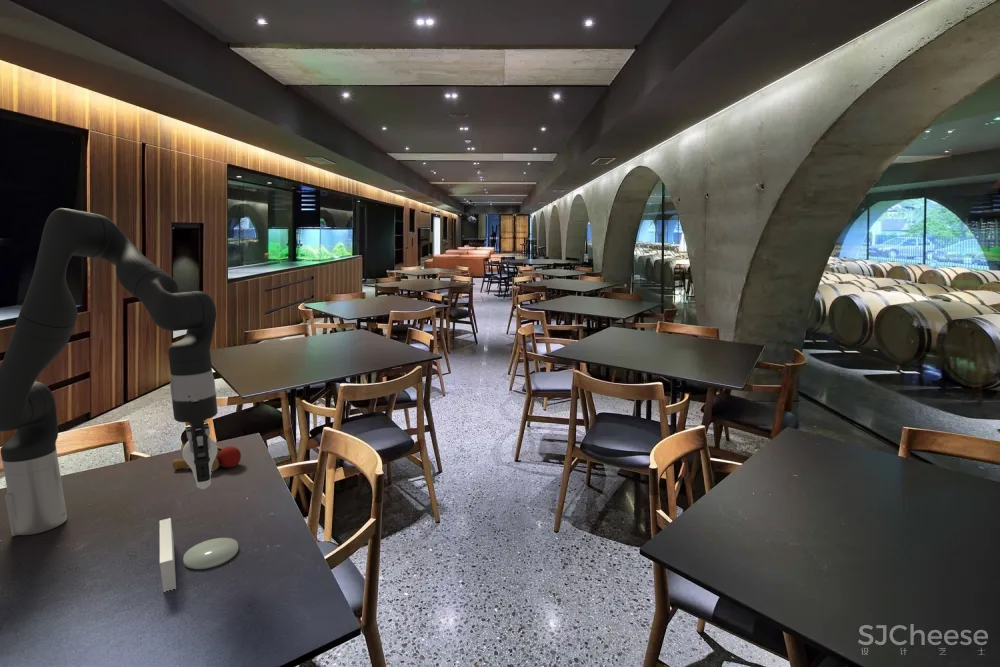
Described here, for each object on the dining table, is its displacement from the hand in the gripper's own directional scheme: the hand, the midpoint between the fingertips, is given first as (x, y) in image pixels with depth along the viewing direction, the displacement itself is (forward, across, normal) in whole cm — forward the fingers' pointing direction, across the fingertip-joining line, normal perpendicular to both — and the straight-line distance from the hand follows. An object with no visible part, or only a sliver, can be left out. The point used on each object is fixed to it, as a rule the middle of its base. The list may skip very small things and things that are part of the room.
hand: (202, 474), depth 107 cm
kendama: (+18, -50, +3) cm, 53 cm away
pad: (+17, 0, 0) cm, 17 cm away
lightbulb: (+3, 0, 0) cm, 3 cm away
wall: (+17, 0, -7) cm, 19 cm away
